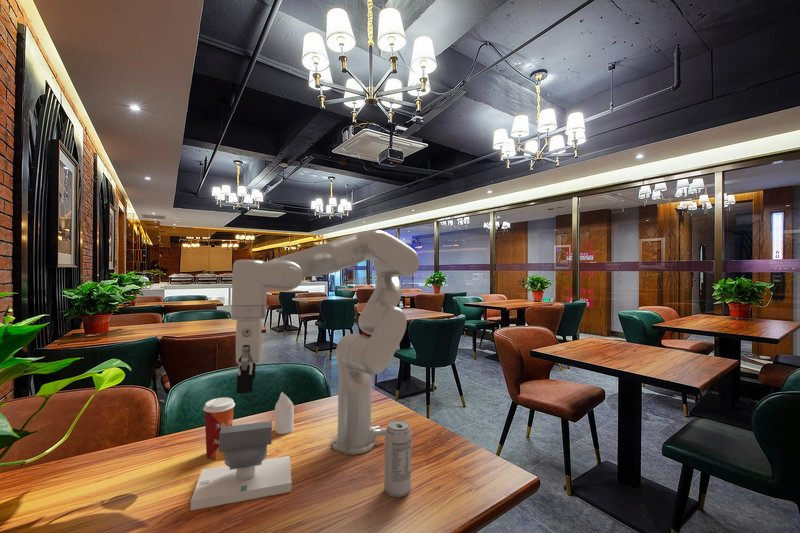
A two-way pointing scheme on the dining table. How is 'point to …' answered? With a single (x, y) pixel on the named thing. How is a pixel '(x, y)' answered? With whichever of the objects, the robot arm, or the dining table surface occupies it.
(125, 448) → the dining table surface
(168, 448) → the dining table surface
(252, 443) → the lock knob
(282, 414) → the white pointed block
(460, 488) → the dining table surface
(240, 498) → the base
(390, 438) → the energy drink can
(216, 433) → the paper cup
